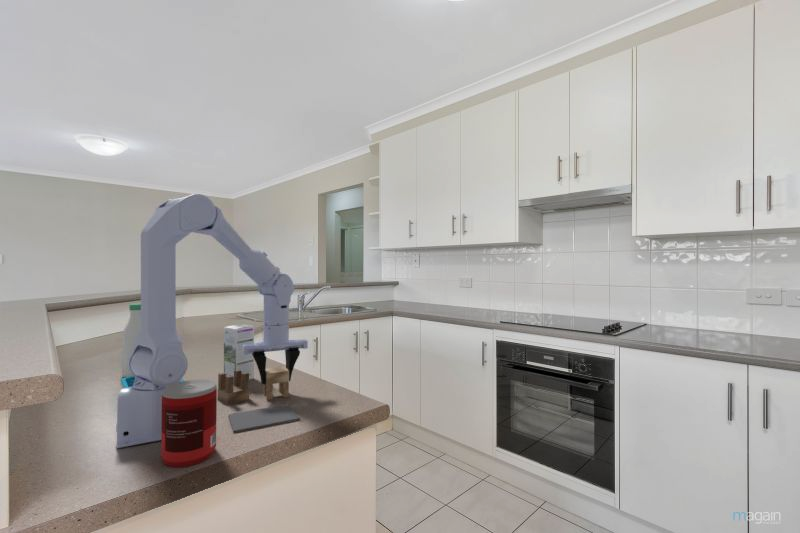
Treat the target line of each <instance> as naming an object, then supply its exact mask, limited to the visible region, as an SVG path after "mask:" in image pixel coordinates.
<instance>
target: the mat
mask: <svg viewBox="0 0 800 533" xmlns="http://www.w3.org/2000/svg"><path fill="white" fill-rule="evenodd" d="M227 415H228V419H229V420H228V421H229V422H230V426H231V430H232V433H234V434H235V433H240V432H245V431H246V432H247V431H250V430H251V431H252V430H257V429H261V428H265V427H272V426H277V425H281V424H286V423H292V422H296V421H301V419H300V416H299V414H297V413H296V411H295V410H294V409H293V407H292V406H291V405H290V404H289V403H287V404H285V403H284V404H280V405H274V406H268V407H263V408H262V407H261V408H257V409H251V410H244V411H240V412H235V413H229V414H227Z"/></svg>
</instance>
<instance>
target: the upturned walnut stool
mask: <svg viewBox="0 0 800 533" xmlns="http://www.w3.org/2000/svg"><path fill="white" fill-rule="evenodd" d="M217 378H218V379H217V380H218V381H217V382H218V383H217V386H218V387H217V401H219V402H222V403H223V404H225V405H231V404H232V405H233V404H236V403H239V402H243V401H248V400H249V399H250V380H249V373H247V372H245V373H241V370H234V376H226V373H224V372H221V373H218V377H217ZM233 380H234V382H233Z"/></svg>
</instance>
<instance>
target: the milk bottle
mask: <svg viewBox="0 0 800 533" xmlns="http://www.w3.org/2000/svg"><path fill="white" fill-rule="evenodd" d="M128 308H129V313H130V315H129V318H128V321H127V323H126V325H125V326H124V329H123V332H122V338H121V340H122V343H121V344H122V345H121V348H122V349H121V376H122V378H125V377H132V376H134V375H133V374H132V373H131V372H130V371H129V368H128V360H129V357H130V356H131V354H132V352H133V349H134V340H135V338H136V337H137V336H138V335H139V333H140V332H141V302H139V303H131V304H130V303H129V307H128Z"/></svg>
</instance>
